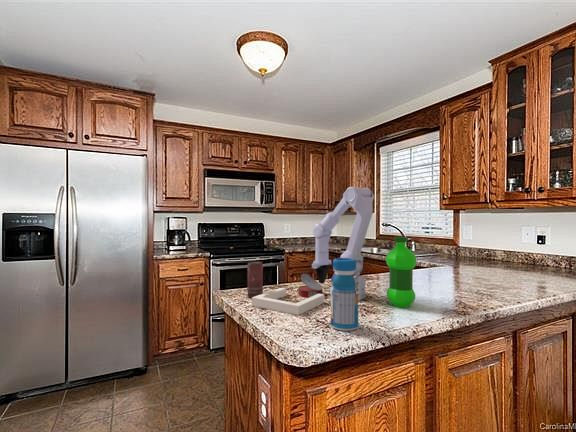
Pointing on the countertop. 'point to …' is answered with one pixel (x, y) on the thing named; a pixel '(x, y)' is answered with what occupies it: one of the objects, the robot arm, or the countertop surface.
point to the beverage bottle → (344, 295)
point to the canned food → (309, 287)
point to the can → (255, 278)
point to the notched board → (298, 308)
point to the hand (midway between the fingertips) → (321, 282)
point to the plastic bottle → (401, 274)
